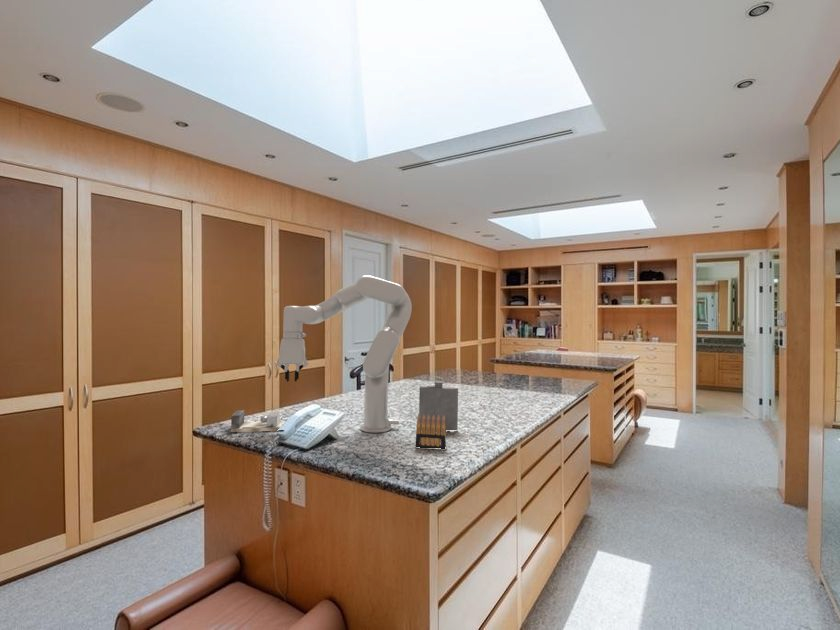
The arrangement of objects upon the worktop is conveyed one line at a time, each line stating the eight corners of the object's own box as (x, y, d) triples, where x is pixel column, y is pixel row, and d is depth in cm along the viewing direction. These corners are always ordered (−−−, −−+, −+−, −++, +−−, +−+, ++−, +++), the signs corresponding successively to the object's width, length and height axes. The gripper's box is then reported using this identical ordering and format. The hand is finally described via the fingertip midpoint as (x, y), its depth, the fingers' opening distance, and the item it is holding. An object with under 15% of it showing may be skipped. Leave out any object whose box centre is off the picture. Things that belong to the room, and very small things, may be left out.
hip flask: (457, 430, 177) (458, 381, 177) (456, 433, 173) (457, 383, 173) (419, 428, 180) (420, 380, 180) (417, 430, 176) (418, 381, 176)
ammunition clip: (415, 448, 152) (415, 414, 152) (416, 446, 154) (416, 413, 154) (445, 450, 151) (446, 415, 151) (445, 448, 153) (446, 414, 153)
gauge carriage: (279, 421, 179) (279, 412, 179) (276, 427, 170) (276, 417, 170) (262, 422, 178) (263, 412, 178) (258, 428, 168) (259, 418, 168)
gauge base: (287, 424, 181) (287, 409, 181) (284, 431, 171) (284, 414, 171) (236, 426, 177) (236, 410, 177) (230, 432, 167) (231, 415, 167)
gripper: (313, 335, 182) (312, 379, 182) (273, 335, 179) (272, 379, 179) (312, 336, 174) (311, 382, 174) (270, 336, 171) (269, 382, 171)
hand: (291, 380), depth 176 cm, fingers open, 2 cm apart
